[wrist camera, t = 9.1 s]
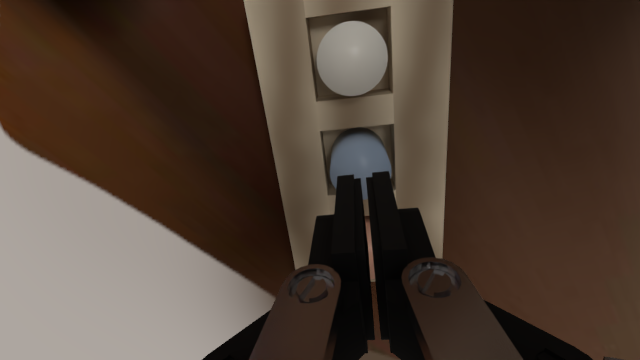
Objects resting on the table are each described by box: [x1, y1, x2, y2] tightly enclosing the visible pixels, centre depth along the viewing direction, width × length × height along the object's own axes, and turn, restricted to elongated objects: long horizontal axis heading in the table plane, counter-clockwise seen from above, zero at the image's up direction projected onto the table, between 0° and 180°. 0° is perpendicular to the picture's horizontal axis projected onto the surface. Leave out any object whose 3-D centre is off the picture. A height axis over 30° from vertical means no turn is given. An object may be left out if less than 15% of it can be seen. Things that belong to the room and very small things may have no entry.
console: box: [244, 0, 453, 282], centre depth 25 cm, size 12×22×3 cm, turn 7°
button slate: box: [330, 127, 392, 200], centre depth 23 cm, size 4×4×4 cm
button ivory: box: [317, 21, 388, 96], centre depth 20 cm, size 4×4×4 cm
